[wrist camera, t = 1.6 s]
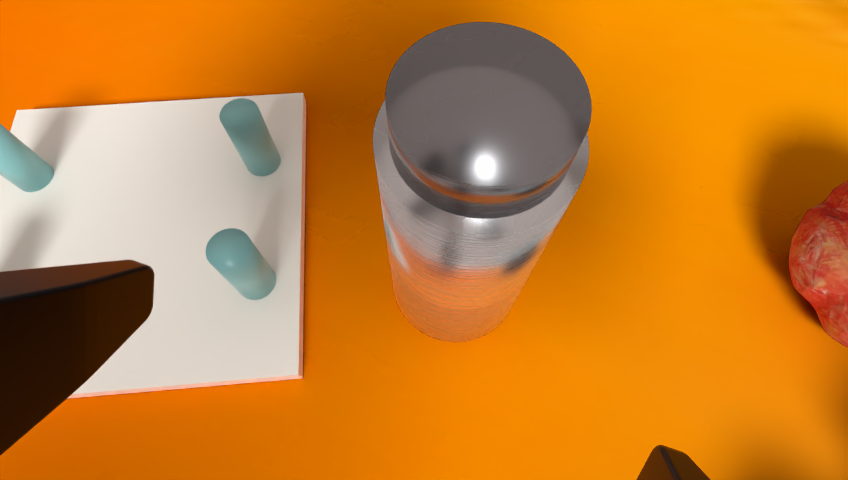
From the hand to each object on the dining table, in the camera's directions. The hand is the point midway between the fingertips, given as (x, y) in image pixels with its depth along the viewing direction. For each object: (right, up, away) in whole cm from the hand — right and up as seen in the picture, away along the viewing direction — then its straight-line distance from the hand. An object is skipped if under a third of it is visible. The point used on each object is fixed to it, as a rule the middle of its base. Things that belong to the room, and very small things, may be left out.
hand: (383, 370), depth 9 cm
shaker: (+2, 0, +14) cm, 14 cm away
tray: (-12, +2, +14) cm, 19 cm away
